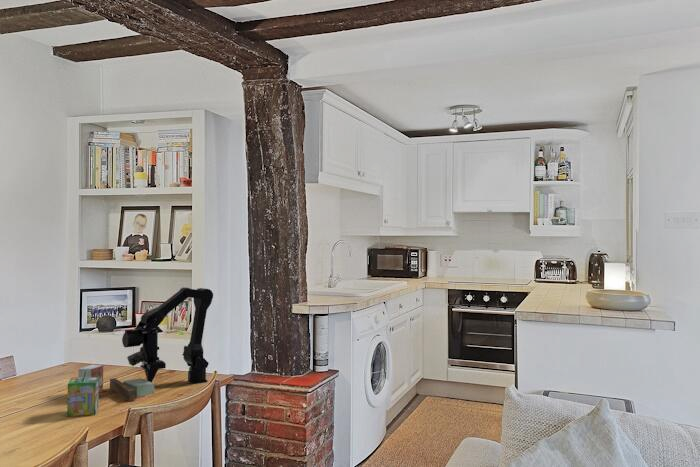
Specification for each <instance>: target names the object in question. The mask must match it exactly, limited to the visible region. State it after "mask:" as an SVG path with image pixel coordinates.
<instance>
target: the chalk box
mask: <svg viewBox="0 0 700 467" xmlns="http://www.w3.org/2000/svg"><path fill="white" fill-rule="evenodd" d="M87 370H88V369H87ZM87 370H86V371H85V374H84V377H79V376H78V377H77V376H76V377H71V379H70V380H69V382H68V383H67V405H66V406H67V410H66V411H67V413H66V416H67V418H71V417H82V416H84V417H85V416H86V417H87V416H95V415H96V414H97V413H98V410H99V394H100V393H99V376H98V377H86V374H87Z"/></svg>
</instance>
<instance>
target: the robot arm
mask: <svg viewBox="0 0 700 467" xmlns="http://www.w3.org/2000/svg"><path fill="white" fill-rule="evenodd" d="M188 298H193V304H194V308H195V309H194V315H193V321H192V328H191V333H190V340H189V342H188V344H187V345H184V347H183V352H182V356H183V360H184V362H185V363H186V365H187V367H189V368H188V371H187V382H188V383H191V384H193V385H194V384H200V383H201V384H202V383H207V382H208V381H209V380H208V379H207V368H208V366H209V365H210V364H209V361H208V360H206V359H205V358H204V349H203V345H202V343H203V335H204V330H205V324H206V318H207V312H208V309H209V307H210V306H211V304H212V301H213V298H214V293H213V291H212V290H211V289H209V288H203V287H199V288H196V289H193V288H190V287H183V286H182V287H181V288H180V289H179V290H178V291H177V292H176V293H174V294H173V295H172V296H170V297H169V298H168V299H167V300H165V301H164V302H162V303H161V304H160V305H159V306H157V307H155V308H153V309H150V310H148V311H147V312H145V313H143V314H142V315H141V317H140V321H139V322H138V323H137V325H136V326H135V328H133V329H125V330H124V333H123V335H122V338H121V340H122V341H121V342H122V346H123V347H124V348H132V347H133V348H134V347H140V348H139V351H137V352H134V353H132V354H130V355H129V356H127V357H126V359H127V360H128V364H129V366H132V367H134V366H136V365H138V364H140V363H141V364H140V365H139V367H140V368H141V369H143V370H144V374H145V378H146V381H149V382H152V383H153V381H154V378H155V376H156V375H157V372H158V371H159V370H162V369H163V370H164V369H166V366H167V365H166V362H165V361H163V360H161V359H160V357H159V356H158V351H159V350H160V347H159V346H158V339H159V338H158V336H159V334H160V333H163V332H164V331H163V329H161V328H160V327H159V326H160V325H161V323H162V322H163V321H164V320H165V318H166V316H167V315H168V314H169V313H171V312H172V311H173V310H174V309H176V308H177V307H178V306H180V304H181V303H183V302H185V301H186V300H187V299H188Z"/></svg>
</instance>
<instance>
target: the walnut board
mask: <svg viewBox="0 0 700 467" xmlns="http://www.w3.org/2000/svg"><path fill="white" fill-rule="evenodd" d="M109 389H110V390H111V391H112V392H114V393H115V394H117V395H119V396H120V397H121V398H123V399H124V400H126V401H128V403H129V402H130V403H131V402H135V398H136V396H135V390H133V389H132V388H130V387H129V386H127V385H125V384H124V383H123V382H122V381H121V380H119V379H117V378H116V377H115V378H114V377H113V378H109Z"/></svg>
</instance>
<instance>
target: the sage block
mask: <svg viewBox="0 0 700 467" xmlns="http://www.w3.org/2000/svg"><path fill="white" fill-rule="evenodd" d="M122 383H124V384H125V385H127V386H129V387H130V388H132V389H133V390H135V398H138V397H145V396H149V395H154V394H155V383H154V382H153V381H152V382H149V381H147V379H143V378H141V377H140V378H135V379H128V380H123V382H122ZM144 395H145V396H144Z"/></svg>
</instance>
